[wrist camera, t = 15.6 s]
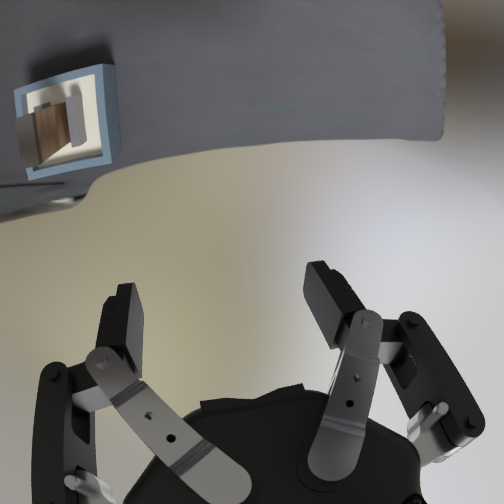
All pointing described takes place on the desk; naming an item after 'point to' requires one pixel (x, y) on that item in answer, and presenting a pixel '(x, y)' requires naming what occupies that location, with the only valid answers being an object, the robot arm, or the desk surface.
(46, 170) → the blue open box
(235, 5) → the desk surface
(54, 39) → the desk surface
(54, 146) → the wooden plank
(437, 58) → the desk surface
